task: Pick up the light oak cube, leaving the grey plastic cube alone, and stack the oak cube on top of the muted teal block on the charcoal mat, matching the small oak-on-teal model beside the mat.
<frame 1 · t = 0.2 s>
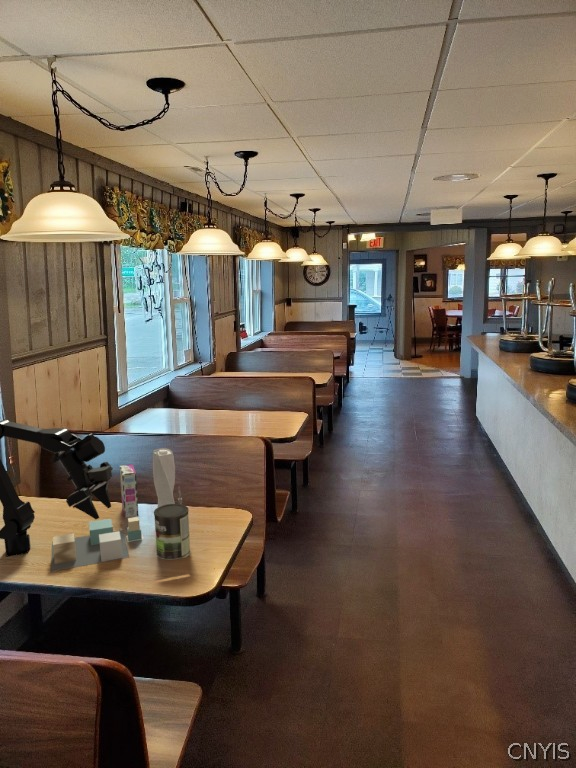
hand: (103, 512, 175), 14 cm above the table, tool tilted 30°, fingers open, 9 cm apart
skyscraper: (168, 525, 200), on the table
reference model: (134, 539, 190), on the table
candy bar box: (130, 513, 211), on the table
charcoal mat: (89, 550, 182), on the table
grey cube: (111, 555, 178), point 1 cm above the table, touching charcoal mat
oak cube: (65, 557, 177), point 1 cm above the table, touching charcoal mat
teal block: (101, 539, 189), point 1 cm above the table, touching charcoal mat
coffee can: (173, 554, 179), on the table
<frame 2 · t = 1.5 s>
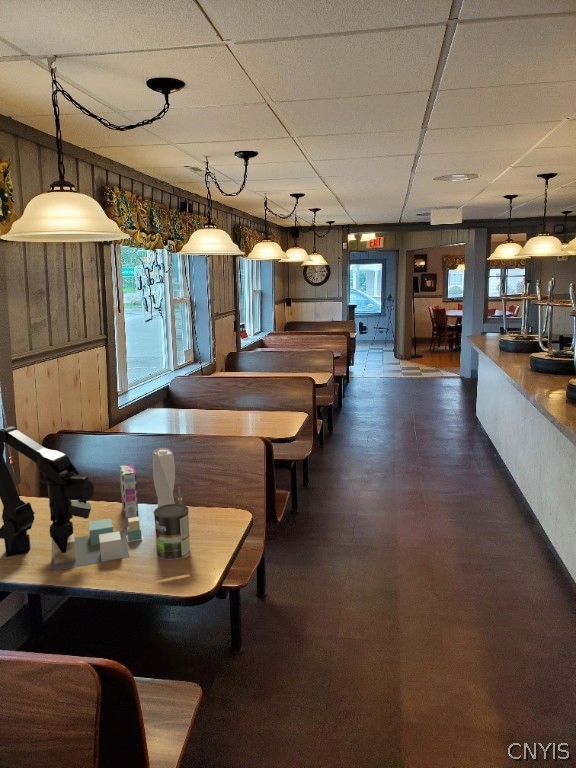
hand: (64, 546, 176), 4 cm above the table, tool pointing down, fingers open, 9 cm apart
nothing on the table moved.
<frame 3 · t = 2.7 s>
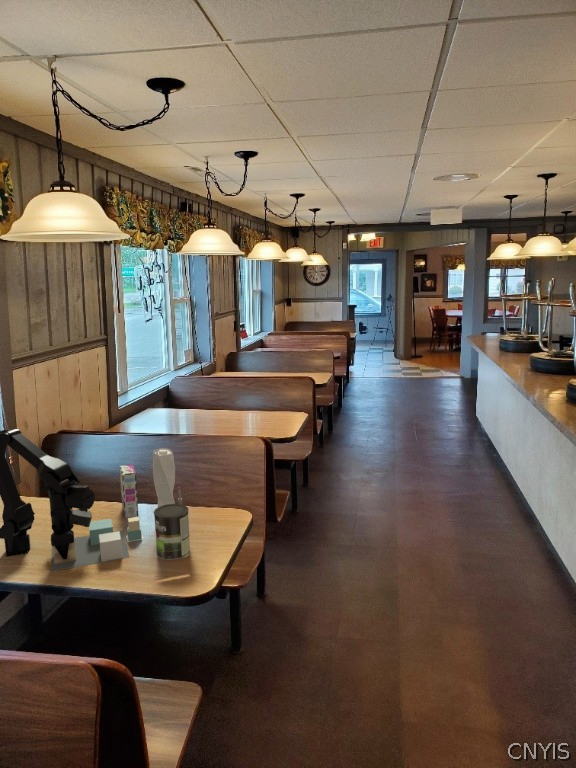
hand: (65, 554, 177), 2 cm above the table, tool pointing down, fingers closed on oak cube, 6 cm apart
oak cube: (65, 557, 177), point 1 cm above the table, touching charcoal mat, gripper
everything else where it was.
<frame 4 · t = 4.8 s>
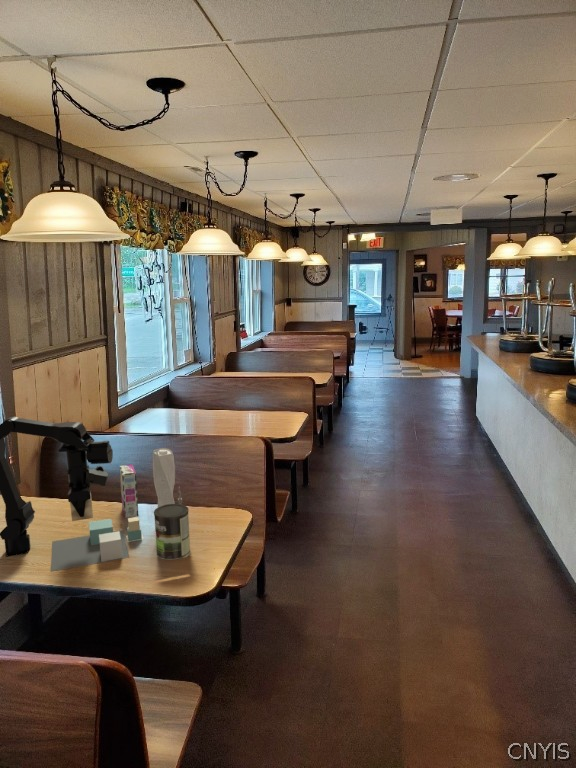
hand: (82, 512, 181), 12 cm above the table, tool pointing down, fingers closed on oak cube, 6 cm apart
oak cube: (82, 515, 181), point 11 cm above the table, touching gripper
everything else where it was.
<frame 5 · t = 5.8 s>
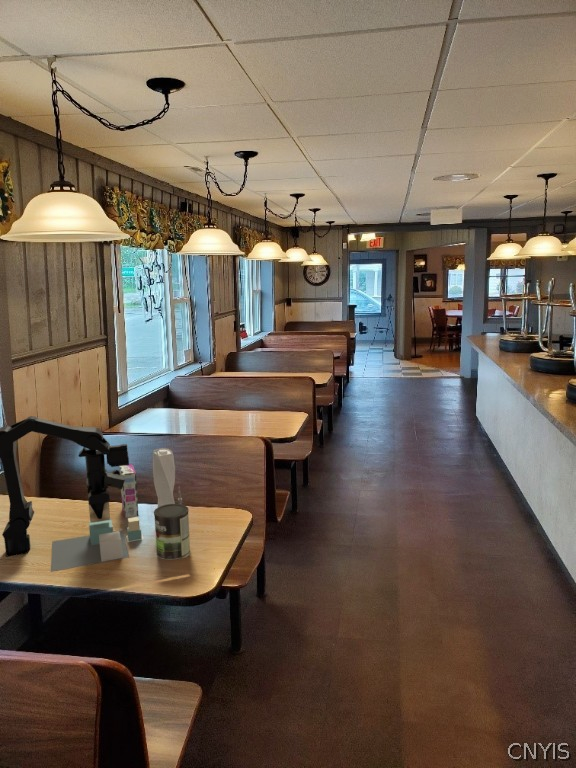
hand: (99, 514, 187), 9 cm above the table, tool pointing down, fingers closed on oak cube, 6 cm apart
oak cube: (99, 517, 188), point 8 cm above the table, touching gripper
everything else where it was.
when the fingers open (8 cm above the table, at t = 6.7 s): oak cube drops 2 cm, resting on teal block.
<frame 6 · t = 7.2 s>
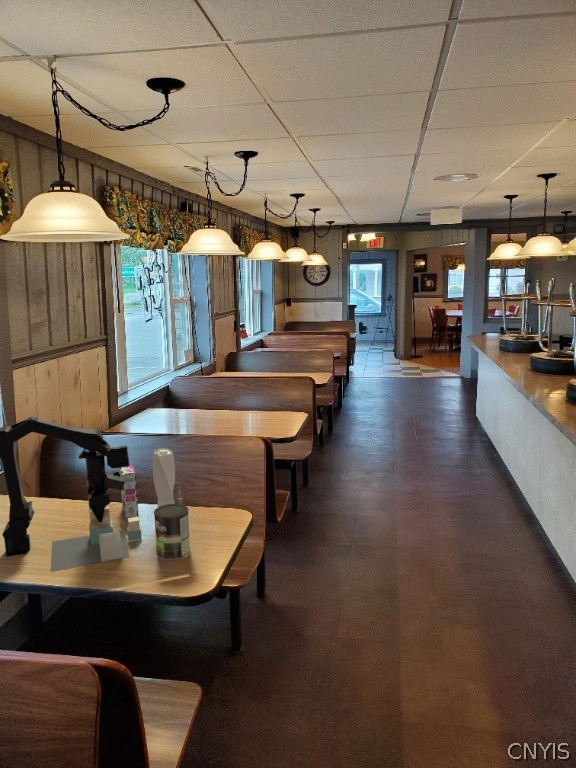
hand: (99, 516, 188), 8 cm above the table, tool pointing down, fingers open, 9 cm apart
oak cube: (100, 524, 188), point 6 cm above the table, touching teal block
teal block: (101, 539, 189), point 1 cm above the table, touching charcoal mat, oak cube
everything else where it was.
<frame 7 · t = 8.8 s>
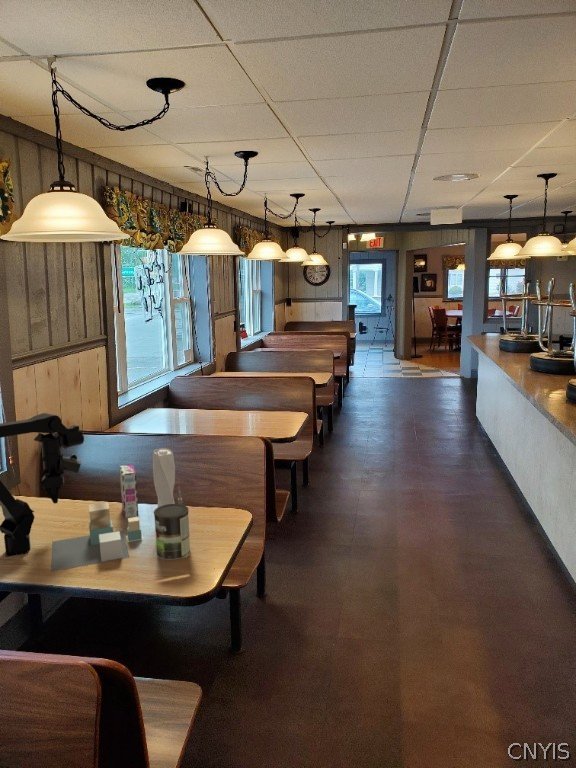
hand: (56, 498, 191), 13 cm above the table, tool pointing down, fingers open, 9 cm apart
nothing on the table moved.
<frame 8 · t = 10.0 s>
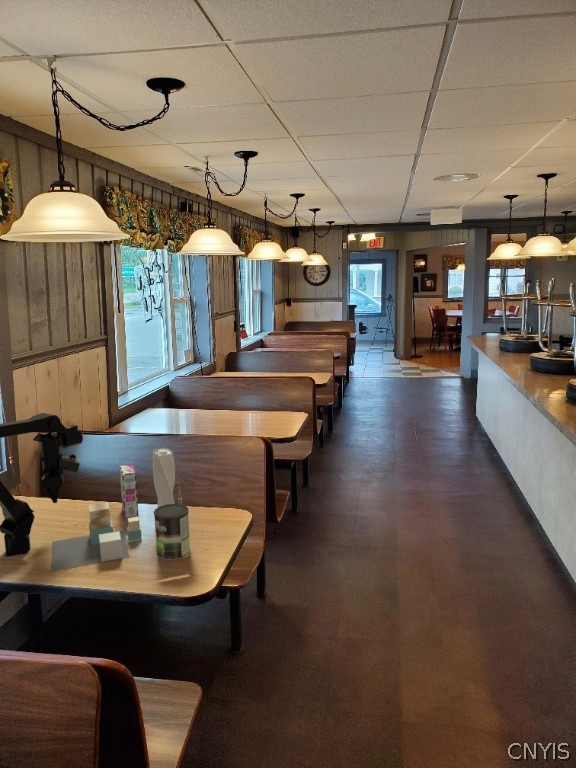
hand: (55, 497, 191), 13 cm above the table, tool pointing down, fingers open, 9 cm apart
nothing on the table moved.
at the end: oak cube 0.1 cm off-centre on the teal block, point 5.0 cm above the teal block's base; oak cube tilted 0°; the gripper is holding nothing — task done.
